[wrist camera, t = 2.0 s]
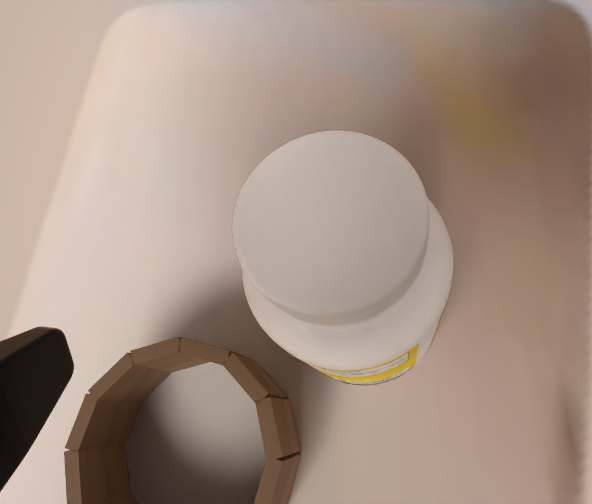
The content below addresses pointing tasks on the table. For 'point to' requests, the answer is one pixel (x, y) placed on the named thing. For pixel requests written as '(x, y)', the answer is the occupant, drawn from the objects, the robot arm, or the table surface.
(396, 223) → the supplement bottle
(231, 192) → the table surface
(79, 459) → the holder
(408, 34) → the table surface
